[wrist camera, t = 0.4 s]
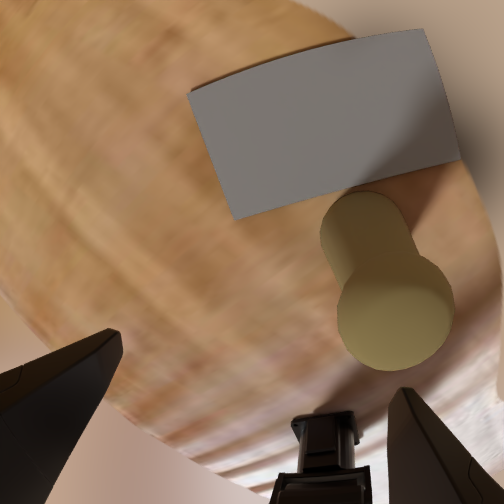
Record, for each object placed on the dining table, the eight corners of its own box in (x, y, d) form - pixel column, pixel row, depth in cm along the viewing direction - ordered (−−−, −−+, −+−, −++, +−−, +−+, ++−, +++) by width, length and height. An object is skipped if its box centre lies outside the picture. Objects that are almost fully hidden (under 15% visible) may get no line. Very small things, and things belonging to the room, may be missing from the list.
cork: (379, 173, 19) (450, 234, 9) (418, 247, 20) (485, 348, 10) (302, 221, 21) (298, 320, 11) (346, 288, 22) (366, 408, 12)
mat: (458, 158, 17) (461, 159, 17) (235, 218, 22) (234, 220, 21) (420, 29, 14) (422, 28, 14) (188, 94, 19) (186, 94, 18)
